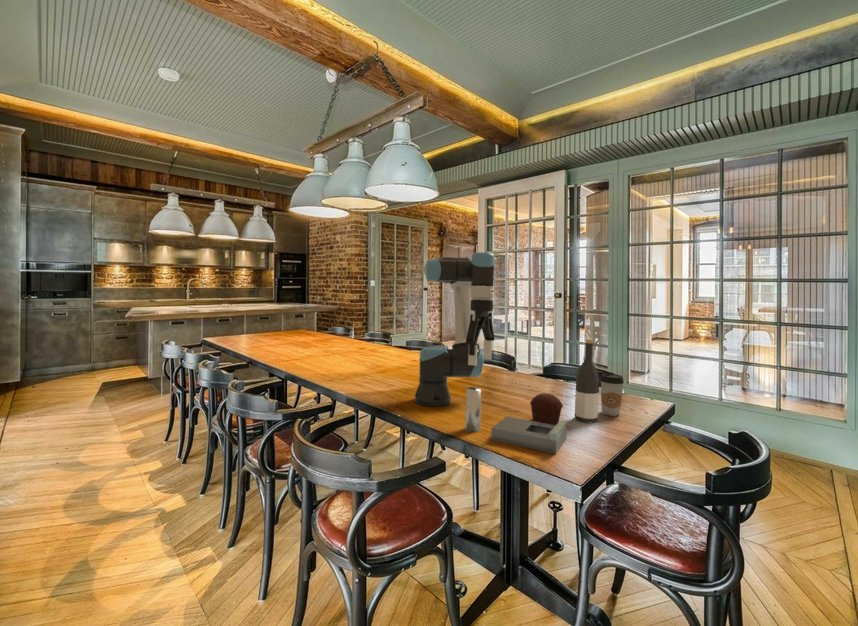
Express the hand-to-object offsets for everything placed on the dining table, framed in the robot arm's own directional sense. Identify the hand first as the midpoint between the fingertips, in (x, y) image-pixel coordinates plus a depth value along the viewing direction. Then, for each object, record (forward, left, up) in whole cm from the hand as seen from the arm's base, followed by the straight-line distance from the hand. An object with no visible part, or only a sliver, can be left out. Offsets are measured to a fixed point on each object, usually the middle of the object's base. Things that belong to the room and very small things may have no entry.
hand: (480, 362), depth 139 cm
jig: (+18, -1, -23) cm, 29 cm away
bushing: (-1, -2, -23) cm, 23 cm away
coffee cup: (+37, +44, -23) cm, 62 cm away
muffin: (+18, +20, -23) cm, 35 cm away
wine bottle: (+30, +31, -23) cm, 49 cm away
